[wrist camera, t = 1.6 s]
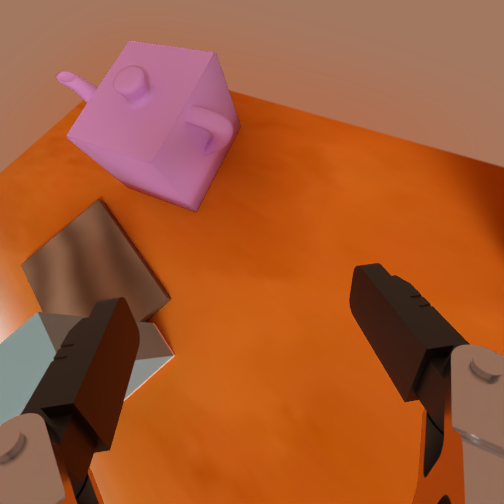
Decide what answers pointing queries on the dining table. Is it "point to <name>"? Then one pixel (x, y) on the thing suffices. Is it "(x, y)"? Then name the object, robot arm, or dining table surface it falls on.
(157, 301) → the board
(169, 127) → the teapot
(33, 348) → the pillar
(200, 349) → the dining table surface
